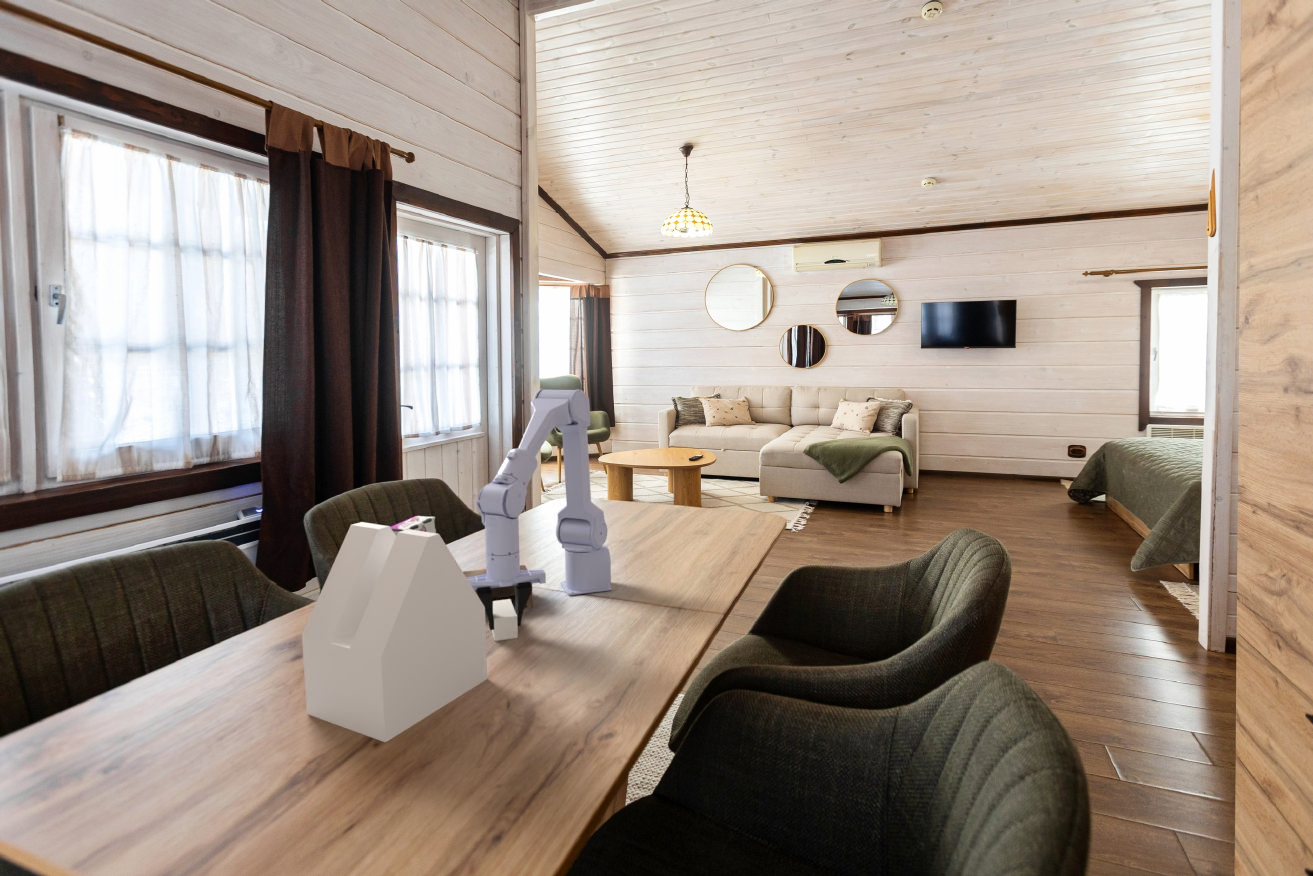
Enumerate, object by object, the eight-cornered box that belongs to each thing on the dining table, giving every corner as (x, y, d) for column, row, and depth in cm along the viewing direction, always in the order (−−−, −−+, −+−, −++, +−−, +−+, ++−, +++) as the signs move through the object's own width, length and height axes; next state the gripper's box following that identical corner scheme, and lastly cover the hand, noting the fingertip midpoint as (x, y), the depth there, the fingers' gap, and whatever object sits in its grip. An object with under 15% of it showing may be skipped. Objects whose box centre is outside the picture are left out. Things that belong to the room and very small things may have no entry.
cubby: (525, 592, 140) (524, 565, 140) (532, 607, 132) (532, 577, 131) (456, 601, 135) (455, 572, 135) (459, 616, 127) (458, 586, 126)
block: (510, 619, 126) (510, 599, 125) (517, 637, 117) (517, 616, 117) (489, 622, 124) (488, 601, 124) (494, 641, 116) (493, 619, 115)
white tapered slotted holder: (414, 659, 109) (407, 510, 106) (487, 679, 102) (481, 520, 99) (307, 714, 92) (295, 539, 89) (385, 743, 85) (375, 553, 82)
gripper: (461, 562, 110) (464, 640, 111) (548, 553, 115) (549, 628, 116) (458, 550, 116) (461, 625, 118) (540, 542, 121) (542, 614, 123)
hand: (504, 626), depth 118 cm, fingers closed on block, 4 cm apart
